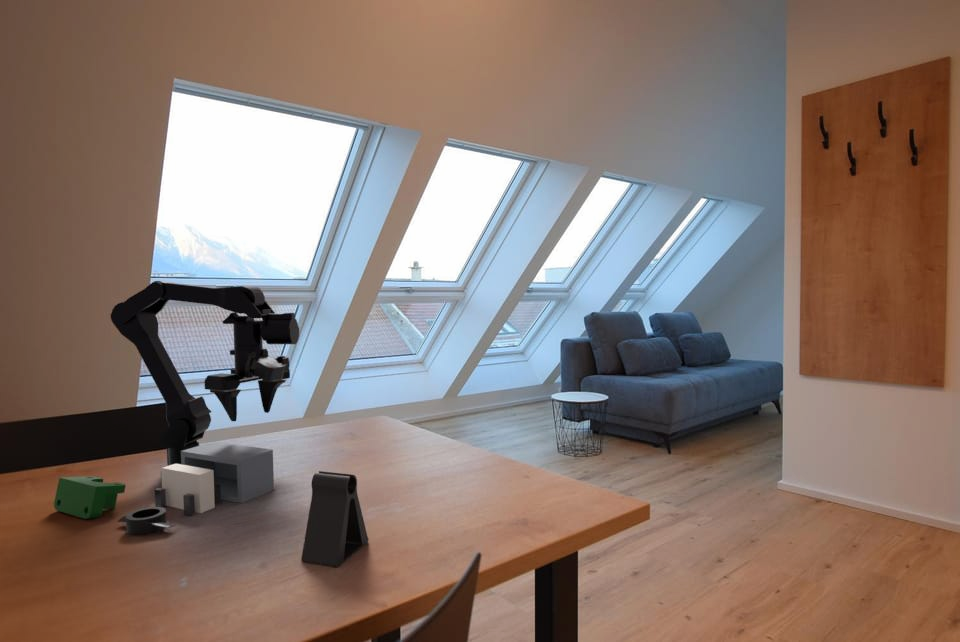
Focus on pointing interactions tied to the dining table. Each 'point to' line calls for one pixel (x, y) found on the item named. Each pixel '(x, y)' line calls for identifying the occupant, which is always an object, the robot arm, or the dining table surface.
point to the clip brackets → (185, 499)
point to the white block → (188, 486)
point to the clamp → (86, 496)
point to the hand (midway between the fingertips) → (250, 416)
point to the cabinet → (234, 468)
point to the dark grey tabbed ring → (145, 521)
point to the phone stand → (333, 520)
